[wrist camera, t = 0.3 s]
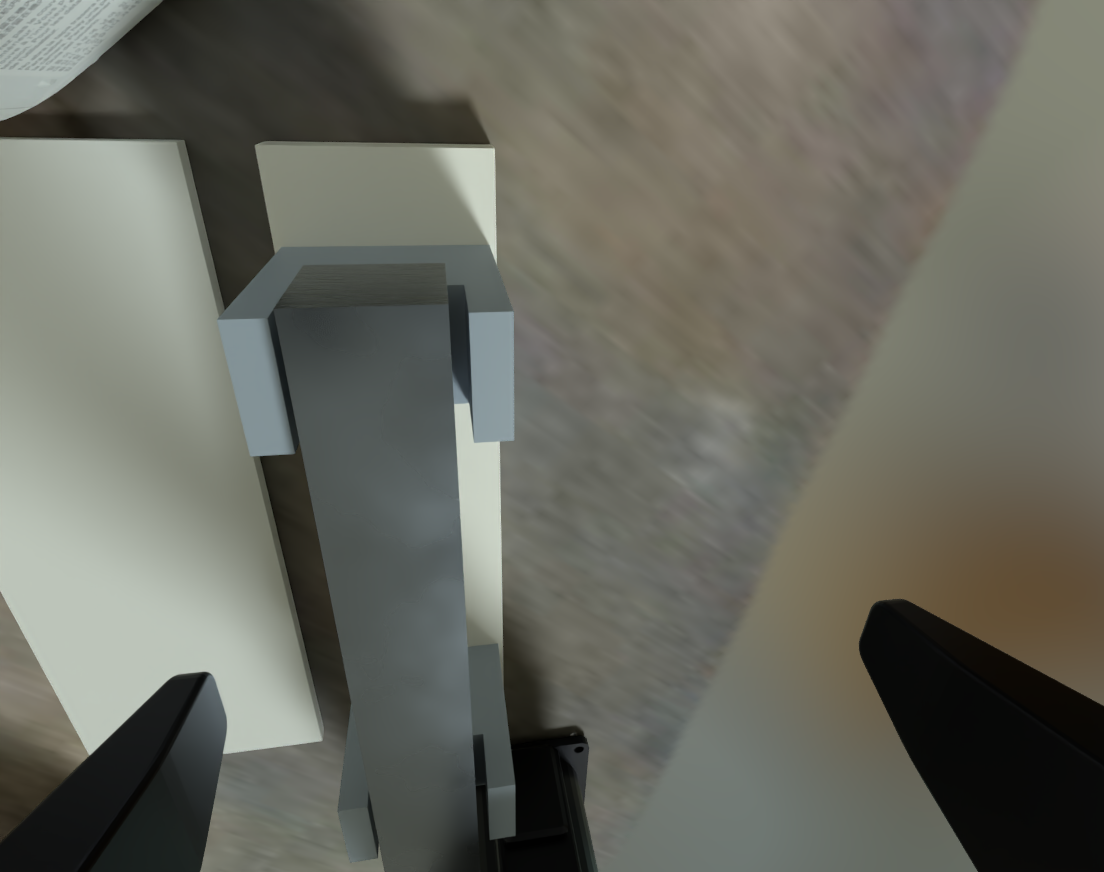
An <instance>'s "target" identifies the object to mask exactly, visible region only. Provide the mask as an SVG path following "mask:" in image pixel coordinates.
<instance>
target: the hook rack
mask: <svg viewBox="0 0 1104 872" xmlns="http://www.w3.org/2000/svg"><path fill="white" fill-rule="evenodd" d="M255 150H256V155H257V161H258V166H259V171H260V177H261V182H262V187H263V193H264V198H265V203H266V208H267V214H268V219H269V224H270V230H271V235H272V240H273V246H274V251H275V255H274V256H273V257H272V258H271V259H270V261H269V262H268V263H267V264H266V265H265V266H264V267H263V268H262V270H261V271H260V272H259V273H258V274H257V275H256V276H255V277H254V278H253V280H252V281H251V282H250V283H249V284H248V285H247V286H246V287H245V289H244V290H243V291H242V292H241V293H240V294H239V295H238V296H237V298H236V299H235V300H234V301H233V302H232V303H231V304H230V305H229V307H228V308H227V309H226V310H225V311H224V312H223V313H222V314H221V315H220V317H219V318H218V319H217V323H218V327H219V332H220V336H221V340H222V344H223V348H224V352H225V356H226V360H227V364H228V368H229V372H230V376H231V380H232V384H233V388H234V393H235V397H236V401H237V405H238V409H239V413H240V417H241V421H242V425H243V429H244V433H245V437H246V441H247V445H248V449H249V453H250V457H251V456H268V455H284V454H295V453H296V450H297V447H298V444H299V442H300V441H299V436H298V431H297V426H296V421H295V416H294V411H293V406H292V401H291V396H290V391H289V386H288V381H287V375H286V370H285V365H284V360H283V355H282V350H281V345H280V340H279V335H278V330H277V325H276V320H275V315H274V310H273V308H274V307H275V306H276V304H277V303H278V301H279V300H280V298H281V297H282V295H283V294H284V292H285V291H286V289H287V288H288V287H289V285H290V284H291V282H292V281H293V279H294V278H295V276H296V275H297V273H298V272H299V271H300V269H301V268H302V266H303V265H337V264H404V263H445V269H446V281H447V292H448V304H449V322H450V340H451V358H452V376H453V394H454V411H455V429H456V447H457V465H458V483H459V501H460V519H461V536H462V554H463V572H464V590H465V608H466V626H467V644H468V662H469V679H470V697H471V715H472V733H473V751H474V769H475V786H479V785H486V798H487V811H488V823H489V836H490V840H493V839H499V838H505V837H511V836H515V778H514V770H513V762H512V753H511V745H510V737H509V729H508V721H507V712H506V704H505V696H504V676H503V616H502V556H501V496H500V441H514V311H513V308H512V306H511V303H510V300H509V297H508V295H507V292H506V289H505V286H504V284H503V281H502V278H501V275H500V273H499V270H498V267H497V255H496V195H495V148H494V147H493V146H492V145H491V144H426V143H360V142H293V141H264V142H262V143H259V144H256V145H255ZM338 815H339V819H340V823H341V828H342V832H343V836H344V840H345V844H346V848H347V852H348V856H349V860H350V863H351V862H357V861H363V860H370V859H376V858H378V846H379V840H378V835H377V830H376V825H375V820H374V815H373V810H372V805H371V800H370V795H369V790H368V785H367V780H366V775H365V770H364V765H363V759H362V754H361V749H360V744H359V739H358V734H357V729H356V724H355V719H354V714H353V709H352V704H351V708H350V716H349V724H348V732H347V740H346V748H345V756H344V764H343V772H342V780H341V788H340V796H339V804H338Z"/></svg>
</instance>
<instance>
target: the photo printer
mask: <svg viewBox="0 0 1104 872" xmlns="http://www.w3.org/2000/svg"><path fill="white" fill-rule="evenodd" d="M162 1H163V0H0V121H1V120H6V119H8V118H11V117H13V116H16V115H18V114H20V113H22V112H24V111H26V110H28V109H30V108H32V107H34V106H36V105H38V104H39V103H41V102H43V101H44V100H46V99H47V98H49V97H50V96H52V95H54V94H55V93H57V92H58V91H59V90H61V89H62V88H63V87H64V86H66V85H67V84H68V83H70V82H71V81H72V80H73V79H75V78H76V77H77V76H78V75H79V74H80V73H82V72H83V71H84V70H85V69H86V68H88V67H89V66H90V65H91V64H93V63H95V62H96V61H97V60H98V59H99V57H100V56H101V55H102V54H103V53H105V52H106V51H107V50H108V49H109V48H111V47H112V46H113V45H114V44H115V43H116V42H117V41H119V40H120V39H121V38H122V37H123V36H124V35H125V34H126V33H127V32H129V31H130V30H131V29H132V28H133V27H134V26H135V25H136V24H137V23H139V22H140V21H141V20H142V19H143V18H144V17H145V16H146V15H148V14H149V13H150V12H151V11H152V10H153V9H154V8H155V7H156V6H158V5H159V4H160V3H161V2H162Z"/></svg>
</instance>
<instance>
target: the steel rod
mask: <svg viewBox="0 0 1104 872" xmlns="http://www.w3.org/2000/svg"><path fill="white" fill-rule="evenodd" d="M273 310H274V315H275V320H276V325H277V330H278V335H279V340H280V345H281V350H282V355H283V360H284V365H285V370H286V375H287V381H288V386H289V391H290V396H291V401H292V406H293V411H294V416H295V421H296V426H297V431H298V436H299V441H300V446H301V451H302V456H303V461H304V466H305V471H306V477H307V482H308V487H309V492H310V497H311V502H312V507H313V512H314V517H315V522H316V527H317V532H318V537H319V542H320V547H321V552H322V557H323V562H324V567H325V573H326V578H327V583H328V588H329V593H330V598H331V603H332V608H333V613H334V618H335V623H336V628H337V633H338V638H339V643H340V648H341V653H342V658H343V663H344V669H345V674H346V679H347V684H348V689H349V694H350V699H351V704H352V709H353V714H354V719H355V724H356V729H357V734H358V739H359V744H360V749H361V754H362V759H363V765H364V770H365V775H366V780H367V785H368V790H369V795H370V800H371V805H372V810H373V815H374V820H375V825H376V830H377V835H378V840H379V845H380V850H381V855H382V861H383V866H384V871H385V872H480V858H479V840H478V822H477V805H476V787H475V769H474V751H473V733H472V715H471V697H470V679H469V662H468V644H467V626H466V608H465V590H464V572H463V554H462V536H461V519H460V501H459V483H458V465H457V447H456V429H455V411H454V394H453V376H452V358H451V340H450V322H449V304H448V292H447V281H446V269H445V263H404V264H337V265H303V266H302V268H301V269H300V271H299V272H298V273H297V275H296V276H295V278H294V279H293V281H292V282H291V284H290V285H289V287H288V288H287V289H286V291H285V292H284V294H283V295H282V297H281V298H280V300H279V301H278V303H277V304H276V306H275V307H274V308H273Z"/></svg>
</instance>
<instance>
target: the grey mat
mask: <svg viewBox="0 0 1104 872" xmlns="http://www.w3.org/2000/svg"><path fill="white" fill-rule="evenodd" d="M224 311H225V309H224V305H223V301H222V296H221V292H220V288H219V284H218V280H217V275H216V271H215V267H214V263H213V259H212V254H211V250H210V246H209V242H208V237H207V233H206V229H205V225H204V221H203V216H202V212H201V208H200V204H199V200H198V195H197V191H196V187H195V183H194V178H193V174H192V170H191V166H190V162H189V157H188V153H187V149H186V145H185V141H184V140H160V139H94V138H27V137H0V592H1V593H2V595H3V597H4V599H5V601H6V603H7V604H8V606H9V608H10V610H11V612H12V614H13V615H14V617H15V619H16V621H17V623H18V625H19V627H20V628H21V630H22V632H23V634H24V636H25V638H26V639H27V641H28V643H29V645H30V647H31V649H32V650H33V652H34V654H35V656H36V658H37V660H38V662H39V663H40V665H41V667H42V669H43V671H44V673H45V674H46V676H47V678H48V680H49V682H50V684H51V685H52V687H53V689H54V691H55V693H56V695H57V697H58V698H59V700H60V702H61V704H62V706H63V708H64V709H65V711H66V713H67V715H68V717H69V719H70V720H71V722H72V724H73V726H74V728H75V730H76V732H77V733H78V735H79V737H80V739H81V741H82V743H83V744H84V746H85V748H86V750H87V752H88V754H89V755H91V754H92V753H93V752H94V751H95V750H96V749H97V748H98V747H99V746H100V745H101V744H102V743H103V742H104V741H105V740H106V739H107V738H108V737H109V736H110V735H111V734H112V733H114V732H115V731H116V730H117V729H118V728H119V727H120V726H121V725H122V724H123V723H124V722H125V721H126V720H127V719H128V718H129V717H130V716H131V715H132V714H133V713H134V712H135V711H136V710H137V709H138V708H139V707H140V706H141V705H143V704H144V703H145V702H146V701H147V700H148V699H149V698H150V697H151V696H152V695H153V694H154V693H155V692H156V691H157V690H158V689H159V688H160V687H161V686H162V685H163V684H164V683H165V682H166V681H167V680H169V679H170V678H172V677H173V676H175V675H178V674H186V673H196V672H209V673H211V674H212V675H213V677H214V679H215V681H216V684H217V688H218V691H219V694H220V697H221V700H222V703H223V707H224V710H225V713H226V717H227V734H226V740H225V745H224V750H223V754H227V753H235V752H242V751H250V750H258V749H265V748H273V747H280V746H288V745H296V744H303V743H311V742H318V741H322V739H323V733H324V726H323V722H322V718H321V713H320V709H319V705H318V701H317V697H316V692H315V688H314V684H313V680H312V675H311V671H310V667H309V663H308V659H307V654H306V650H305V646H304V642H303V638H302V633H301V629H300V625H299V621H298V616H297V612H296V608H295V604H294V600H293V595H292V591H291V587H290V583H289V579H288V574H287V570H286V566H285V562H284V558H283V553H282V549H281V545H280V541H279V536H278V532H277V528H276V524H275V520H274V515H273V511H272V507H271V503H270V499H269V494H268V490H267V486H266V482H265V478H264V473H263V469H262V465H261V461H260V456H251V457H250V453H249V449H248V445H247V441H246V437H245V433H244V429H243V425H242V421H241V417H240V413H239V409H238V405H237V401H236V397H235V393H234V388H233V384H232V380H231V376H230V372H229V368H228V364H227V360H226V356H225V352H224V348H223V344H222V340H221V336H220V332H219V327H218V323H217V319H218V318H219V317H220V315H221V314H222V313H223V312H224Z"/></svg>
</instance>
